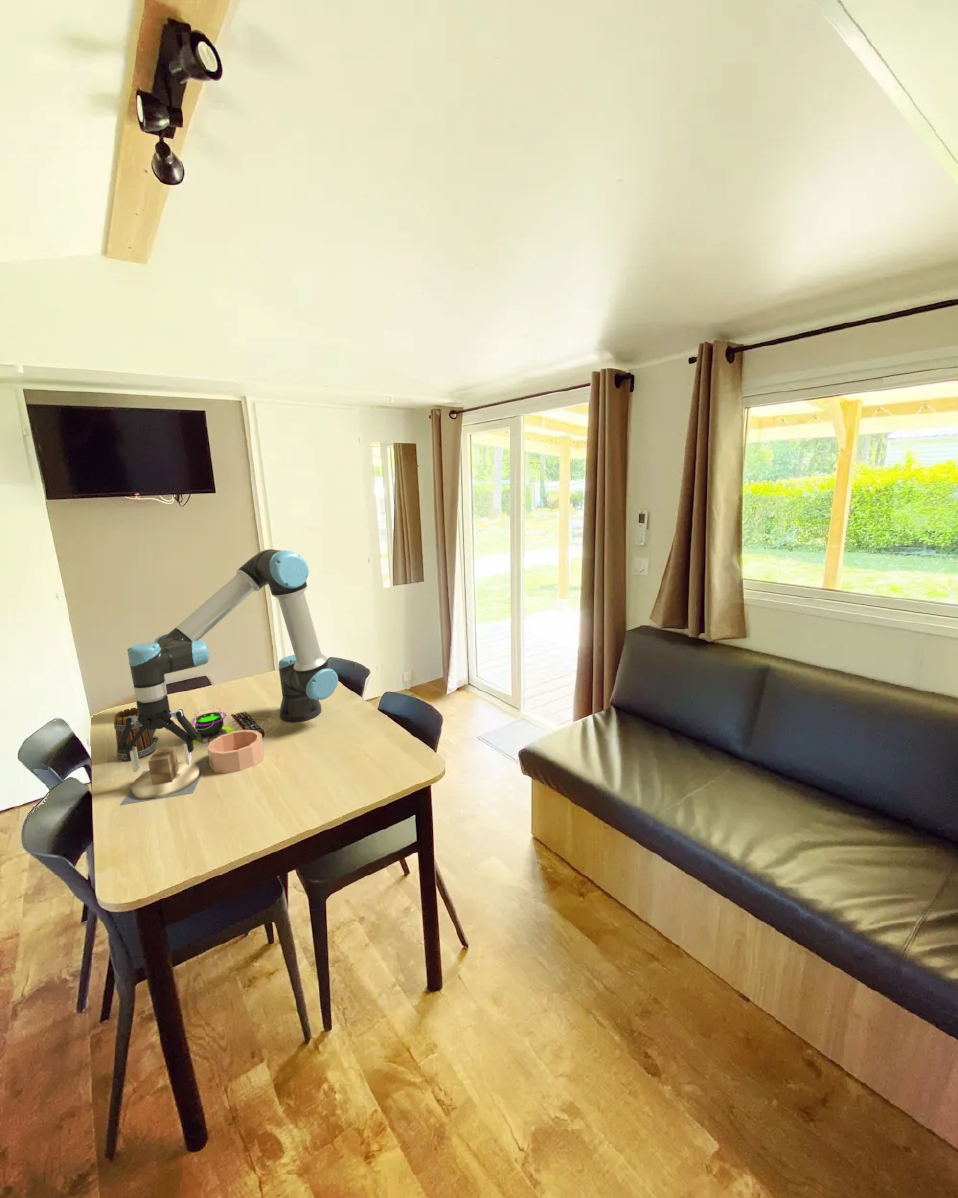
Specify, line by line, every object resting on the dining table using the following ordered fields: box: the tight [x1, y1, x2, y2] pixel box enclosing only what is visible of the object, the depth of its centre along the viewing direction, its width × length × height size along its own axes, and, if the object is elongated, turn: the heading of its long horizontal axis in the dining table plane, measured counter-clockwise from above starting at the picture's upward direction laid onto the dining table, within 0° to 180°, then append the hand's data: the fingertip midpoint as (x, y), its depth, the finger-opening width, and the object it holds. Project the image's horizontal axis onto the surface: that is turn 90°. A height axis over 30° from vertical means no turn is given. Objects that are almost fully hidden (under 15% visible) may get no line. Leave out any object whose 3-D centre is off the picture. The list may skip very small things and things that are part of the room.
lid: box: [130, 746, 200, 799], centre depth 147 cm, size 17×17×9 cm
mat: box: [119, 760, 209, 806], centre depth 148 cm, size 18×18×1 cm
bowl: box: [207, 729, 265, 774], centre depth 159 cm, size 15×15×7 cm
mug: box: [113, 707, 159, 762], centre depth 166 cm, size 16×11×15 cm
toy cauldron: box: [190, 705, 236, 745], centre depth 175 cm, size 15×15×11 cm
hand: (163, 766), depth 147 cm, fingers open, 13 cm apart
